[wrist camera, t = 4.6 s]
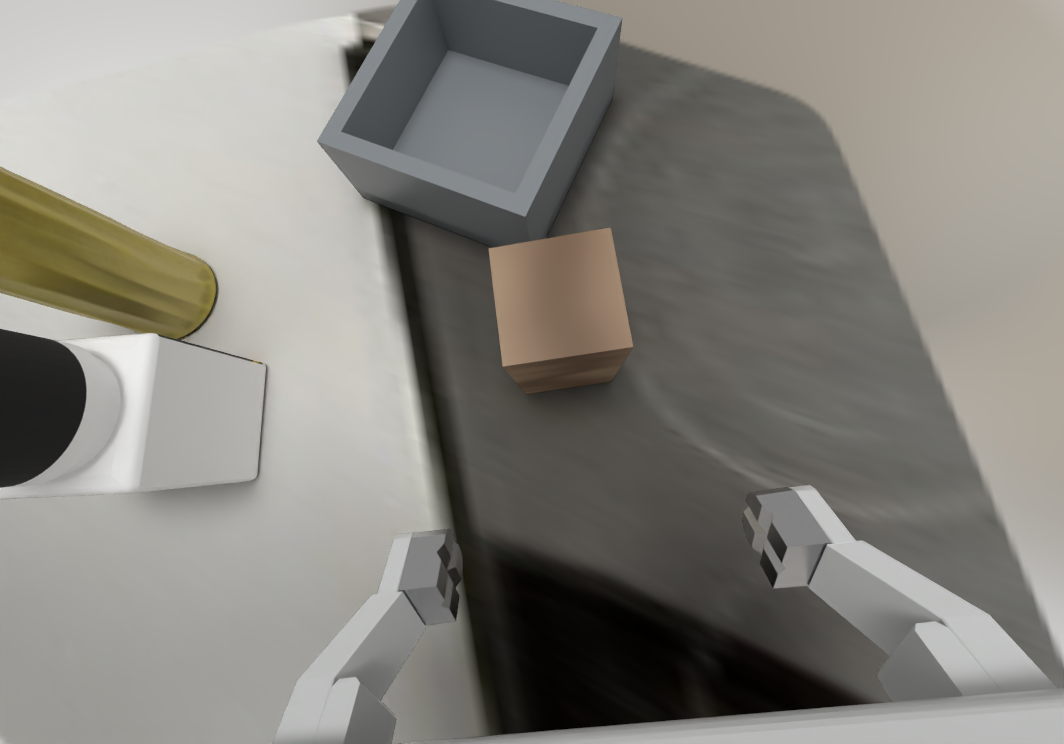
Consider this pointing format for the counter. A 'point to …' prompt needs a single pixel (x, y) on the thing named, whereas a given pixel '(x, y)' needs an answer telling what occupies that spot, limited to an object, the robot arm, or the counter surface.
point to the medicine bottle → (124, 415)
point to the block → (560, 311)
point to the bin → (477, 112)
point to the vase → (96, 264)
